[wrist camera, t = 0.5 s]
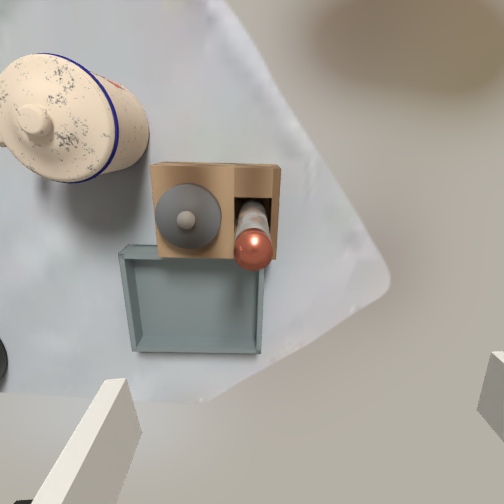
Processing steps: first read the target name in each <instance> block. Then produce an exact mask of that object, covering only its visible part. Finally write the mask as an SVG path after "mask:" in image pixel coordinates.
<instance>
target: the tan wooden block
mask: <svg viewBox="0 0 504 504" xmlns="http://www.w3.org/2000/svg"><path fill="white" fill-rule="evenodd" d="M150 172H151V183H152V194H153V205H154V215H155V226H156V237H157V248H158V257H176V258H223V259H235V258H234V245H235V238H236V232H237V226H238V219H239V213H240V207H241V203H242V201H243V200H244V198H246V197H251V198H260V199H261V200H262V201H263V203H264V207H265V212H266V217H267V222H268V227H269V232H270V237H271V242H272V247H273V257H272V260H276V249H277V232H278V214H279V197H280V179H281V168H280V167H279V166H278V165H275V164H235V163H195V162H162V163H158V164H154V165H150Z"/></svg>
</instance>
